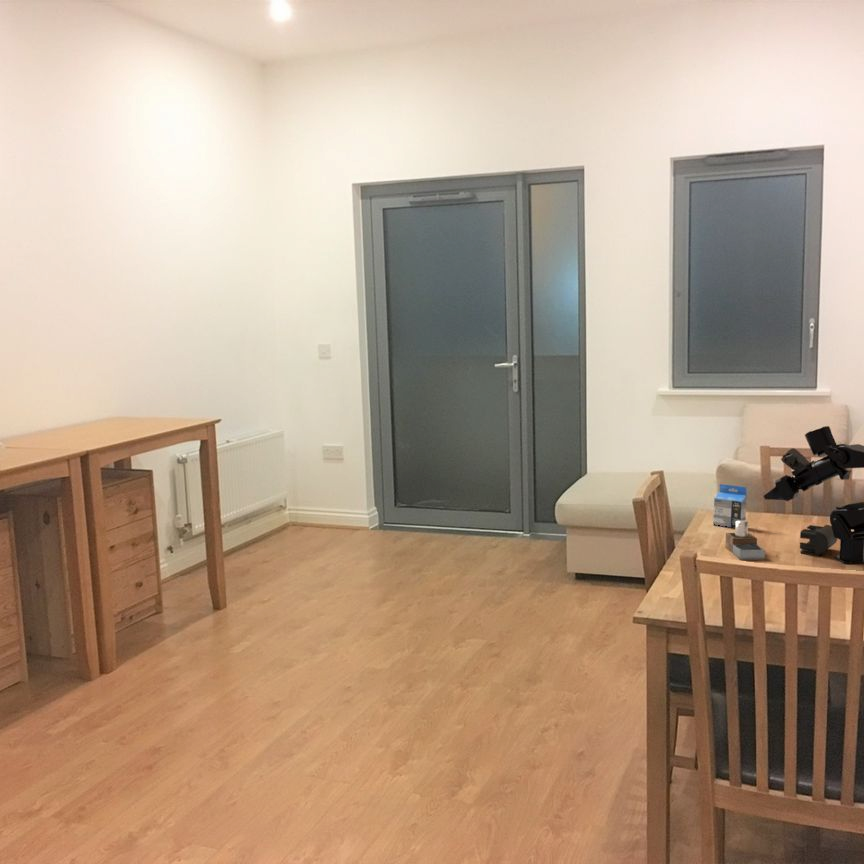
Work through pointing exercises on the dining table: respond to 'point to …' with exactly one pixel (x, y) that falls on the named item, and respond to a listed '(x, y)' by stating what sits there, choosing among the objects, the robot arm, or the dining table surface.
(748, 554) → the tray
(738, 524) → the axle pin
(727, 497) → the label tape box
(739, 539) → the bore block
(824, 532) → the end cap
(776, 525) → the dining table surface
